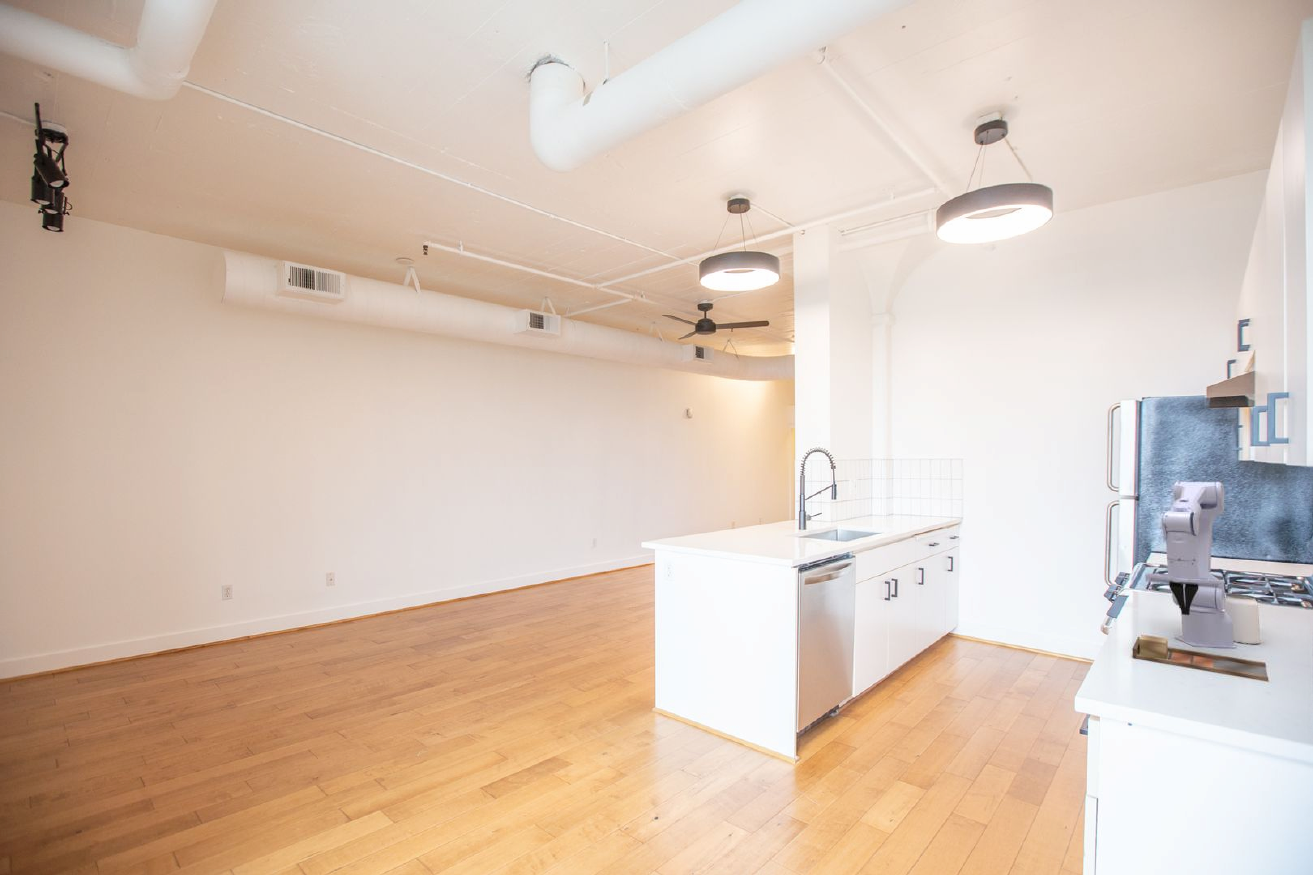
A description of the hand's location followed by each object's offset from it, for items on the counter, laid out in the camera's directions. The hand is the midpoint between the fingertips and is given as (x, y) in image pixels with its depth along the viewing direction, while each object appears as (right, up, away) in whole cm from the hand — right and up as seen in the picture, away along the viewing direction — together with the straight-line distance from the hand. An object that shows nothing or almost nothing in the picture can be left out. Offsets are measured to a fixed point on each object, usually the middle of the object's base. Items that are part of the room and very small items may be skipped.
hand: (1185, 613), depth 144 cm
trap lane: (-2, -10, -5) cm, 12 cm away
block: (-8, -10, 0) cm, 13 cm away
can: (+25, -11, +10) cm, 29 cm away
